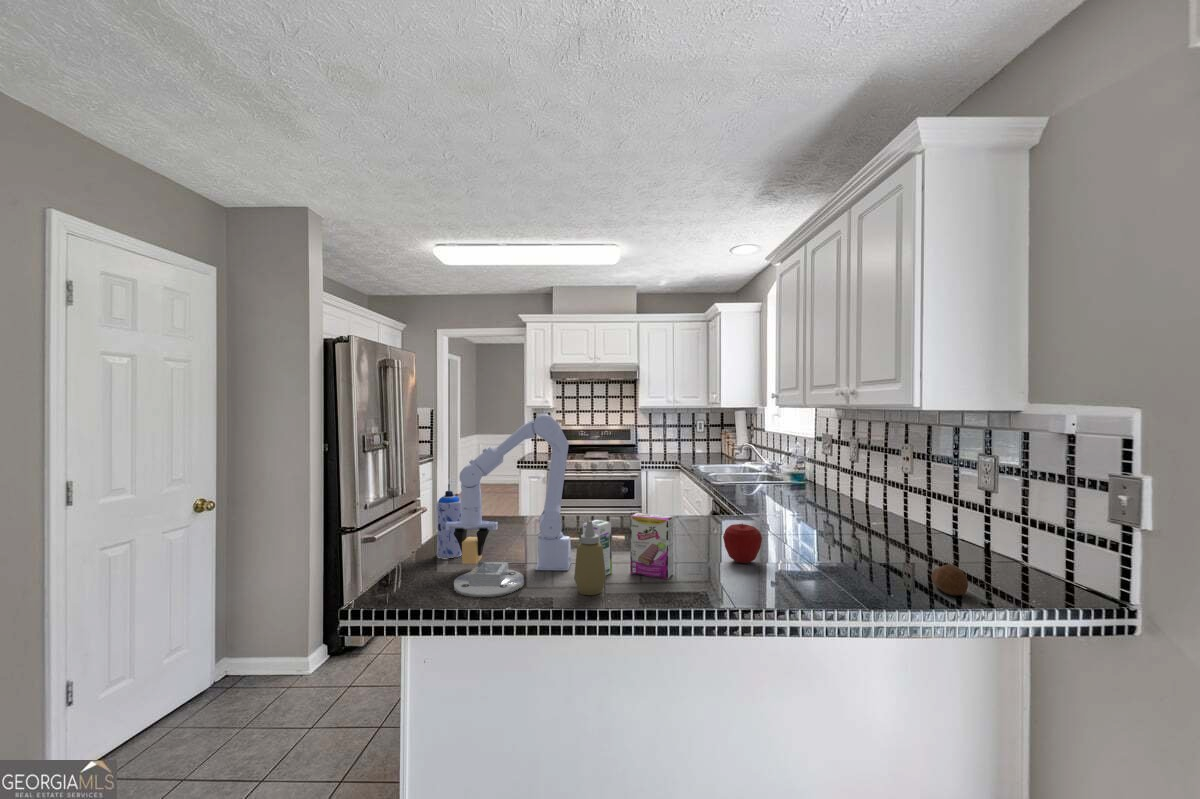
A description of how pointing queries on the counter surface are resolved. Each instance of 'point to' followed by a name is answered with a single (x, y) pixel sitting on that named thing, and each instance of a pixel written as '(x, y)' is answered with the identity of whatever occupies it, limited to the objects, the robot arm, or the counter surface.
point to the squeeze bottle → (590, 563)
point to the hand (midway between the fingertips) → (472, 554)
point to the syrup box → (603, 541)
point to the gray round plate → (489, 580)
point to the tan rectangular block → (470, 551)
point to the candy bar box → (651, 545)
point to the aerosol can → (445, 513)
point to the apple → (742, 542)
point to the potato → (950, 580)
